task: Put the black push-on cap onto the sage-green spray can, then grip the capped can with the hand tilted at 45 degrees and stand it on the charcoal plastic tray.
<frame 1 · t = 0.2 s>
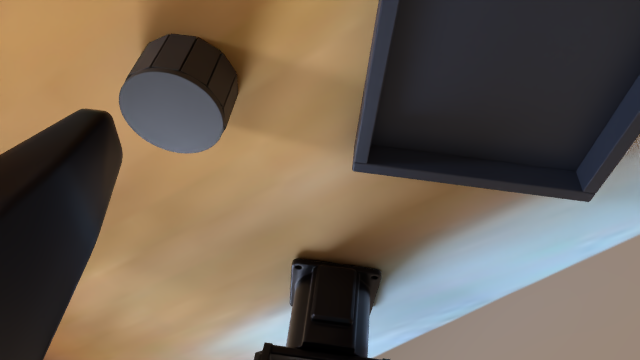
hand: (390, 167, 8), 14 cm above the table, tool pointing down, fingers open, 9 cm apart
tray: (522, 25, 21), on the table
cap: (190, 77, 25), on the table
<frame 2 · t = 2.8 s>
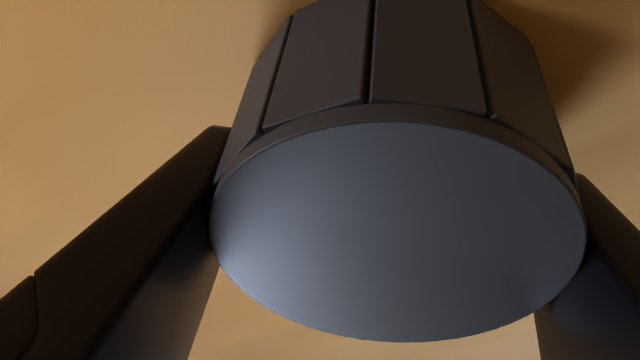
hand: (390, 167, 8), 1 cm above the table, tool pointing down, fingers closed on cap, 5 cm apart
cap: (390, 117, 9), on the table, touching gripper
when the fingers open (10 cm above the table, at t = 6.5 s): cap stays where it is, resting on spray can.
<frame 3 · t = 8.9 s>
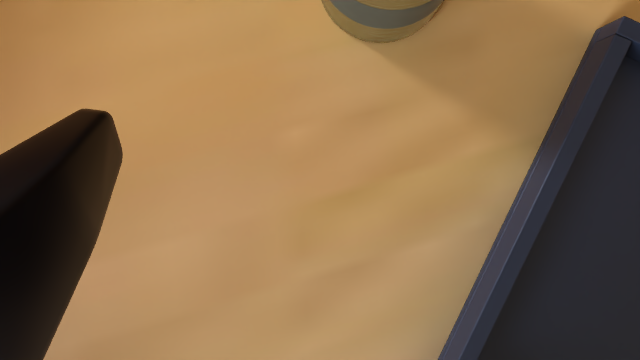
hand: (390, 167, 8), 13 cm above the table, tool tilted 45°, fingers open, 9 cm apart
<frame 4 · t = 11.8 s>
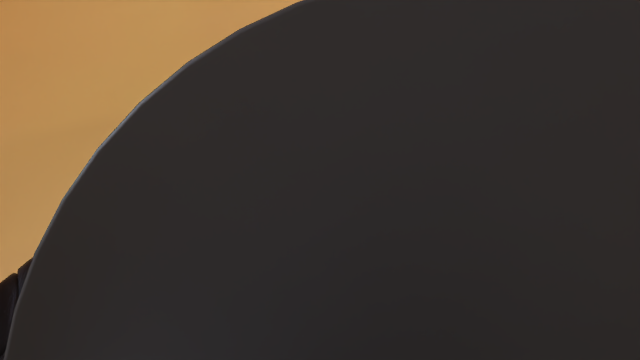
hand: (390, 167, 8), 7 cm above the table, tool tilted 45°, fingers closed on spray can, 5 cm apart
cap: (393, 295, 6), point 9 cm above the table, touching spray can
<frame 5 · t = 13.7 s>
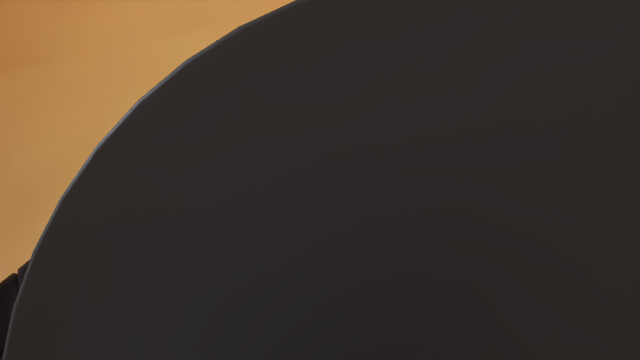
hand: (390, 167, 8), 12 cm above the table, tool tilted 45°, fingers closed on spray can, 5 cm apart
cap: (392, 294, 6), point 14 cm above the table, touching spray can
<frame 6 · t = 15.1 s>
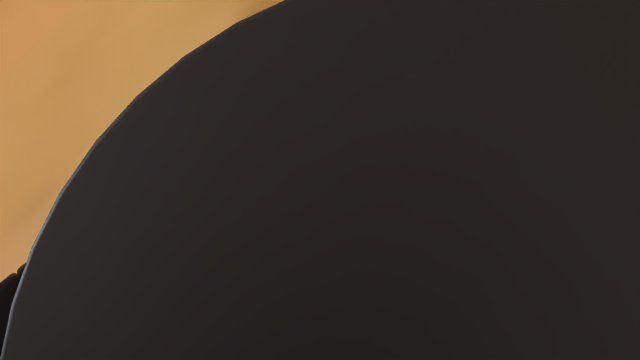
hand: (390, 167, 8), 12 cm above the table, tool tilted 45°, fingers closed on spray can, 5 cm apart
cap: (392, 292, 6), point 14 cm above the table, touching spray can
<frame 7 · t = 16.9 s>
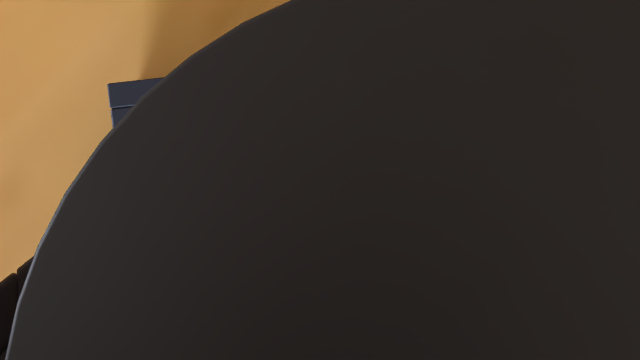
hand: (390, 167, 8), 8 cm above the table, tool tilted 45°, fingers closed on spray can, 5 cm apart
tray: (354, 326, 16), on the table
cap: (394, 292, 6), point 10 cm above the table, touching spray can
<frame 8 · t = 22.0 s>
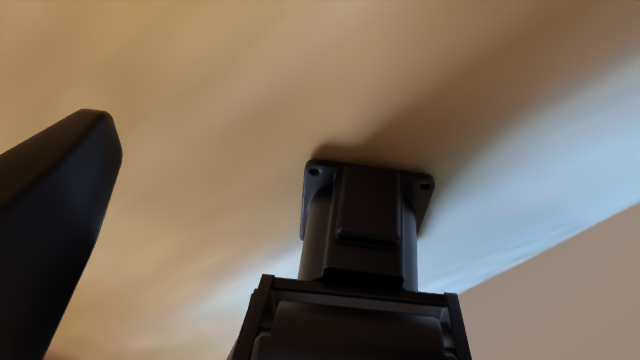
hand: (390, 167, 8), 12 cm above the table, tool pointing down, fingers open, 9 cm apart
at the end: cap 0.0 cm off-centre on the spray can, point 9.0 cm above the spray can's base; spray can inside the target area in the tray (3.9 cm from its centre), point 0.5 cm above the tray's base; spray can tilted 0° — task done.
